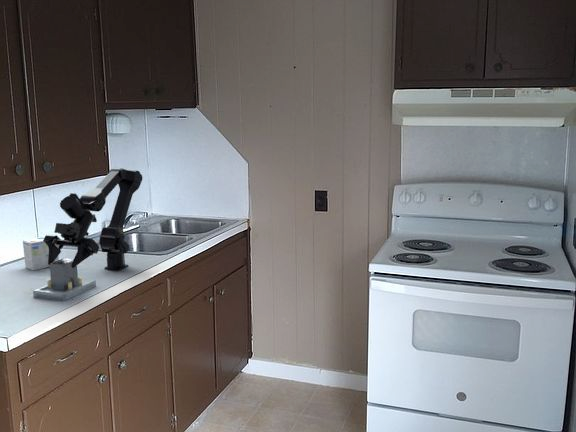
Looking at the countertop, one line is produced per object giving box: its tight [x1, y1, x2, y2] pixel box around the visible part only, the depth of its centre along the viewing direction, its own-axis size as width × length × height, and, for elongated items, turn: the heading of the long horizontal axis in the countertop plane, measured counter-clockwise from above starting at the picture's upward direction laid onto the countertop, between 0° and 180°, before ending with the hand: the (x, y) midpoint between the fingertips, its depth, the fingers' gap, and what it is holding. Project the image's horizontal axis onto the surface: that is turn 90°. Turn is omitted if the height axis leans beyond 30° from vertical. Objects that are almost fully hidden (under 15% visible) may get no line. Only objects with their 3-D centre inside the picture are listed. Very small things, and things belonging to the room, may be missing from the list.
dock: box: [32, 277, 97, 302], centre depth 193 cm, size 16×12×4 cm
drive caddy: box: [49, 258, 79, 292], centre depth 193 cm, size 7×5×9 cm
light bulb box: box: [22, 235, 60, 271], centre depth 221 cm, size 11×7×11 cm, turn 141°
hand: (60, 266), depth 191 cm, fingers open, 9 cm apart
